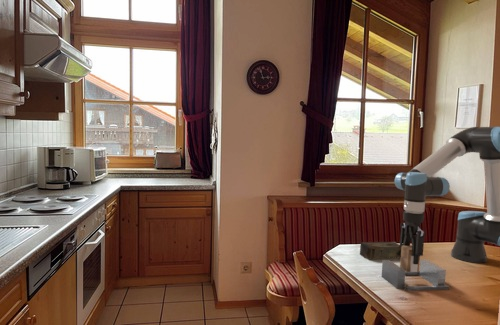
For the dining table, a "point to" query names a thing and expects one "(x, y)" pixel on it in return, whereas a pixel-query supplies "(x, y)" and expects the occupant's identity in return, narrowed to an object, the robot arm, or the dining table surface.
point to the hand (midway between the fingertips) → (409, 268)
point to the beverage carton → (380, 250)
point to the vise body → (403, 277)
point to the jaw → (432, 273)
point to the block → (407, 258)
